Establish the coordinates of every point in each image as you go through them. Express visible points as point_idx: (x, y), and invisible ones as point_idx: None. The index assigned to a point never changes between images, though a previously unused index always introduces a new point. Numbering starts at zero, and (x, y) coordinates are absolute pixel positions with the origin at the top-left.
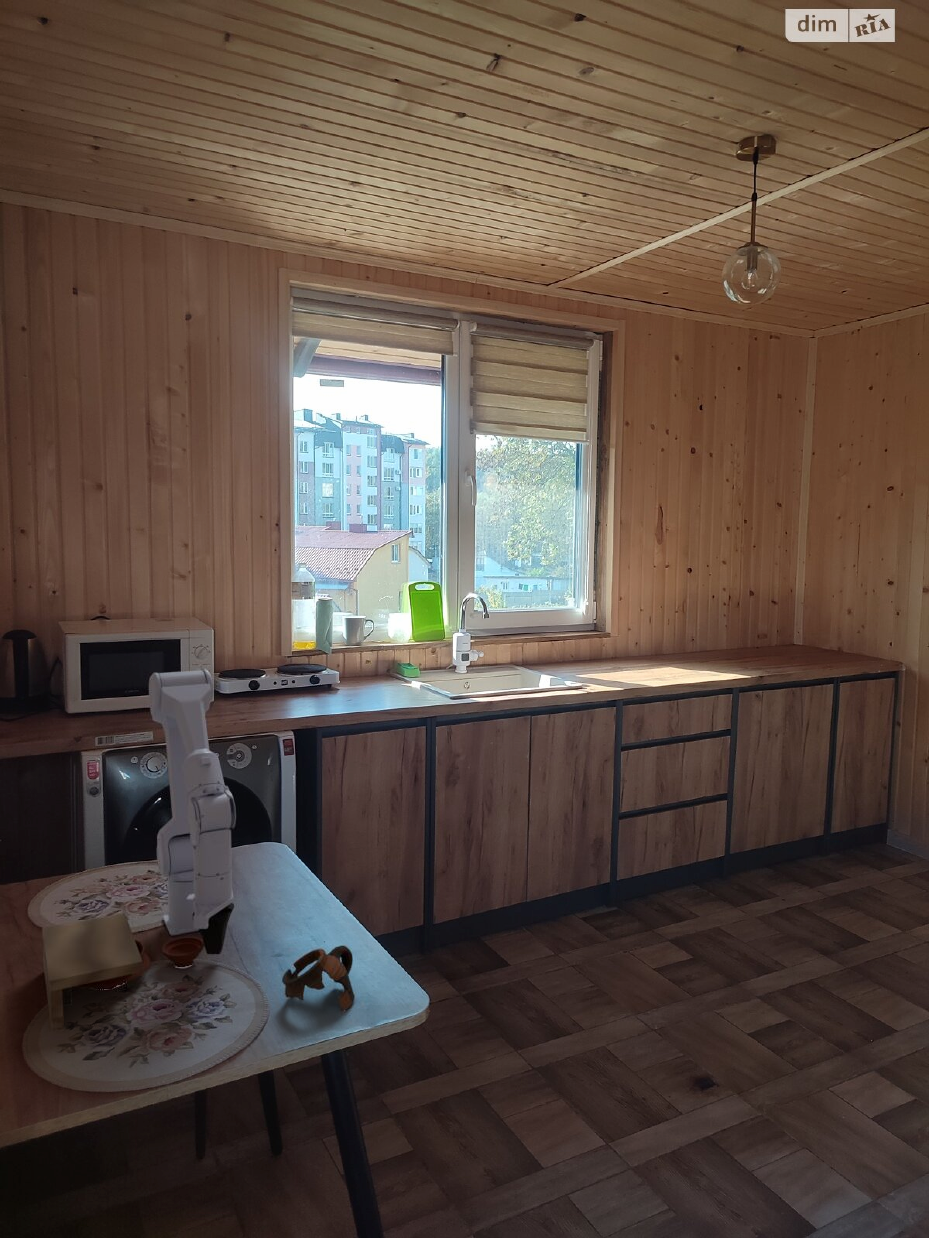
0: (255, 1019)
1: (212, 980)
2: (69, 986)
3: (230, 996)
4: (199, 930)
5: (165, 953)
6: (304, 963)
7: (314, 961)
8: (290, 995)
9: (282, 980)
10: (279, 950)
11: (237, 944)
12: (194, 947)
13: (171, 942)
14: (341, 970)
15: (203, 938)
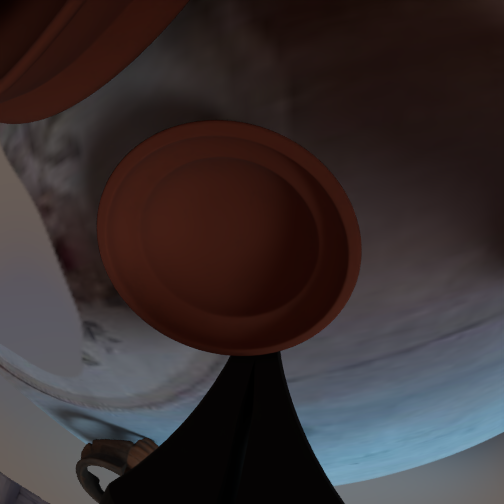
0: (55, 389)
1: (139, 330)
2: None
3: (90, 365)
4: (175, 432)
5: (107, 183)
6: None
7: None
8: (84, 447)
9: (92, 458)
10: (330, 430)
11: (398, 356)
12: (294, 281)
13: (291, 158)
14: None
15: (205, 396)
